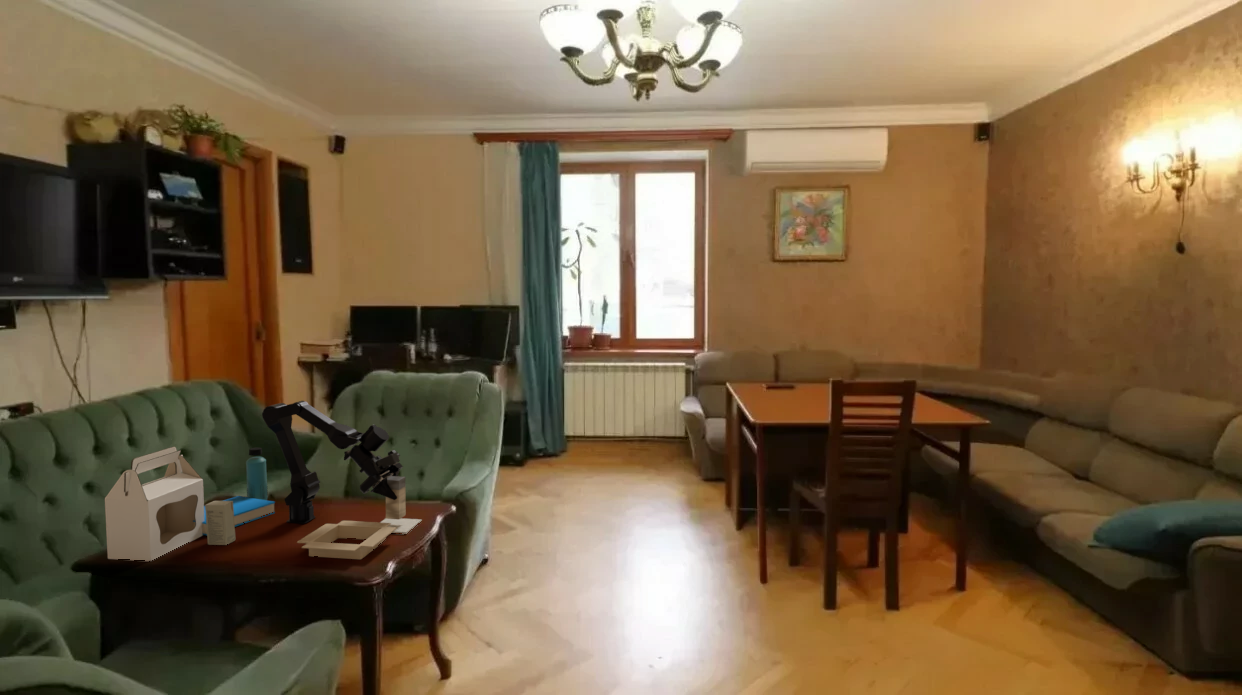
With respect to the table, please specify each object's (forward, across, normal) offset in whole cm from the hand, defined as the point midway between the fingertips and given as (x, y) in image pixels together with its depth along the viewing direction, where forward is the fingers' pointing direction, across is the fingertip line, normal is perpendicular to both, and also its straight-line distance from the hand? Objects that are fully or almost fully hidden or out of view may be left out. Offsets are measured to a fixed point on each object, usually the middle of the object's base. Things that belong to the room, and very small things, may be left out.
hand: (399, 496), depth 225 cm
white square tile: (+6, 0, +8) cm, 10 cm away
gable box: (-36, -28, +51) cm, 68 cm away
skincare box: (-25, -22, +40) cm, 52 cm away
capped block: (+4, 0, +6) cm, 7 cm away
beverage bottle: (-34, +12, +49) cm, 61 cm away
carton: (+2, -19, +12) cm, 23 cm away
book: (-34, -5, +48) cm, 59 cm away
